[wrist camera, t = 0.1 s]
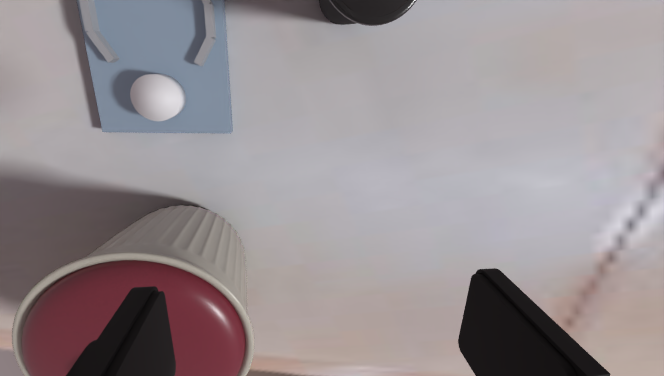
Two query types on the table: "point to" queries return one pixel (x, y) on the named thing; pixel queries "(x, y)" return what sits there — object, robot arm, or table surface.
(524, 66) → the table surface
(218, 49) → the carrier plate
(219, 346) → the canister
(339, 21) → the drinking cup
